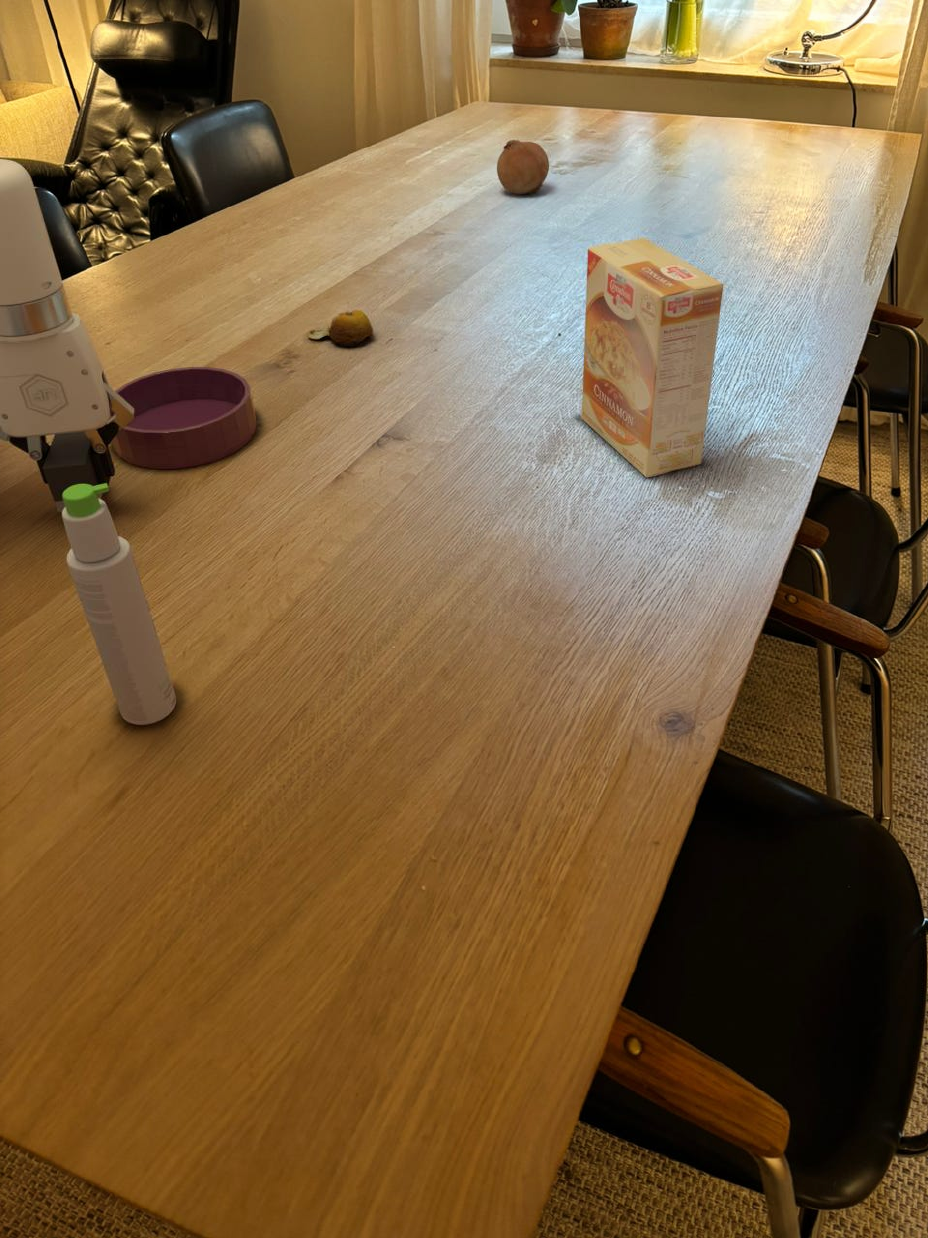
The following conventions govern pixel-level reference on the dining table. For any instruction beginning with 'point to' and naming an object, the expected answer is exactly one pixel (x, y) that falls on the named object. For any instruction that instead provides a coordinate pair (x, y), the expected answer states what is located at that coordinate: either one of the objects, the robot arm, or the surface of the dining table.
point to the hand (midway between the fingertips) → (82, 483)
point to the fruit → (346, 329)
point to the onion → (522, 167)
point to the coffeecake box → (649, 353)
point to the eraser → (69, 465)
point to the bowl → (185, 417)
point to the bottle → (116, 607)
